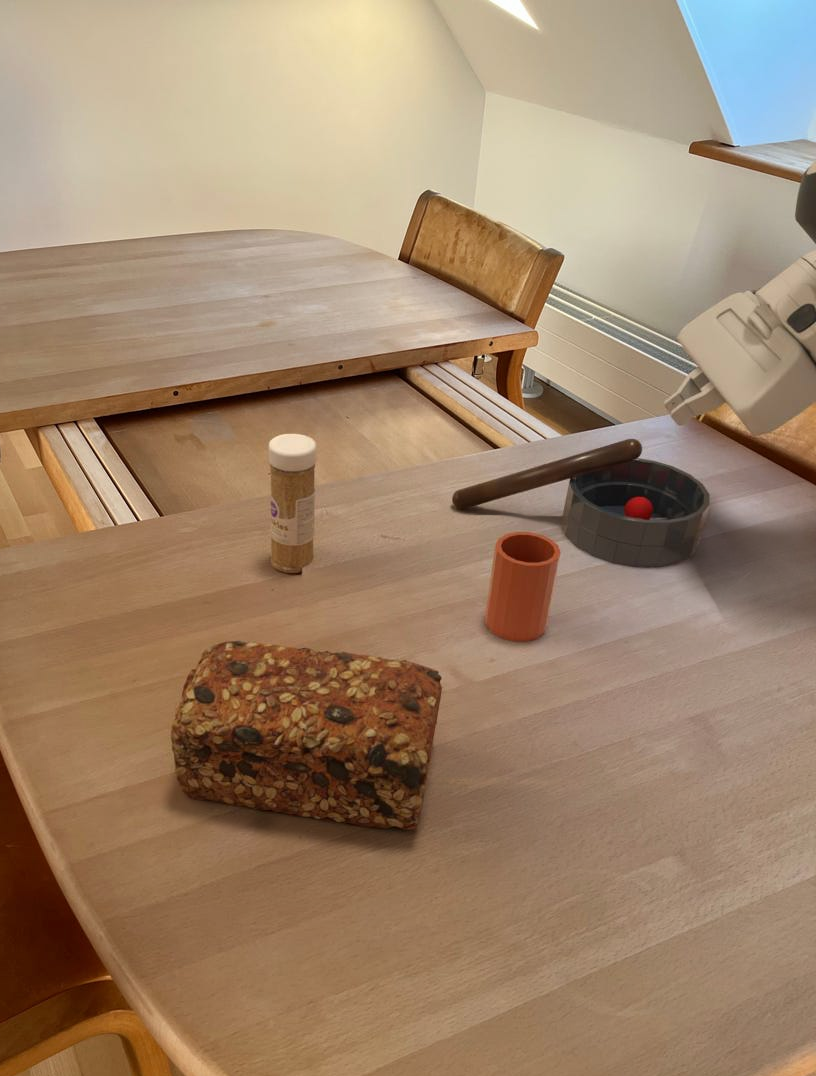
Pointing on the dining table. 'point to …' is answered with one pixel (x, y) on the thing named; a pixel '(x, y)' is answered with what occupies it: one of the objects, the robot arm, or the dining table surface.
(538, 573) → the crock
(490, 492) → the stirring stick
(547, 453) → the dining table surface
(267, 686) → the bread
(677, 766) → the dining table surface
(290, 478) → the sprinkles bottle
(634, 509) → the berry
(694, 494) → the bowl
